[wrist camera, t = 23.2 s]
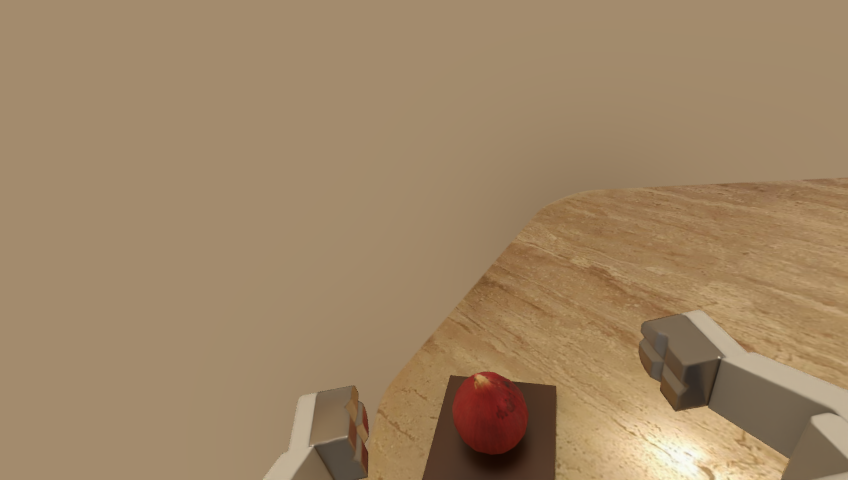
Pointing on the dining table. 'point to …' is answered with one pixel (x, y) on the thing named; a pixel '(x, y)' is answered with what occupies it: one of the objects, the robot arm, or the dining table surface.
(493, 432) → the onion
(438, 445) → the board
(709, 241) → the dining table surface
